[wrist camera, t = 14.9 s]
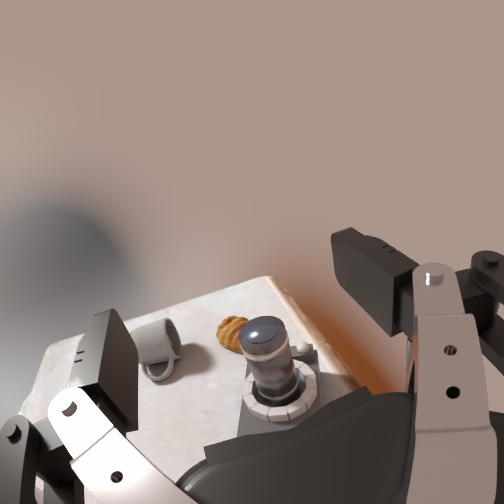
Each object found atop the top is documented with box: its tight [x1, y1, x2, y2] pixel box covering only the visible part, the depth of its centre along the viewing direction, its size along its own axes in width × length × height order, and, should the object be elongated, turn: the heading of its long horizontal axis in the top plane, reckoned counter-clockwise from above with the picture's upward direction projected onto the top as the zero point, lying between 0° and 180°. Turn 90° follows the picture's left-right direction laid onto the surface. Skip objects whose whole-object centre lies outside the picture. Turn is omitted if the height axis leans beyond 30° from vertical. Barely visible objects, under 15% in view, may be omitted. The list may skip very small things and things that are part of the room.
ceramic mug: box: [130, 318, 182, 381], centre depth 53 cm, size 11×8×8 cm
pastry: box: [216, 316, 248, 355], centre depth 54 cm, size 9×7×4 cm
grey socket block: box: [237, 342, 323, 437], centre depth 38 cm, size 10×14×7 cm
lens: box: [238, 316, 300, 407], centre depth 35 cm, size 5×5×11 cm
